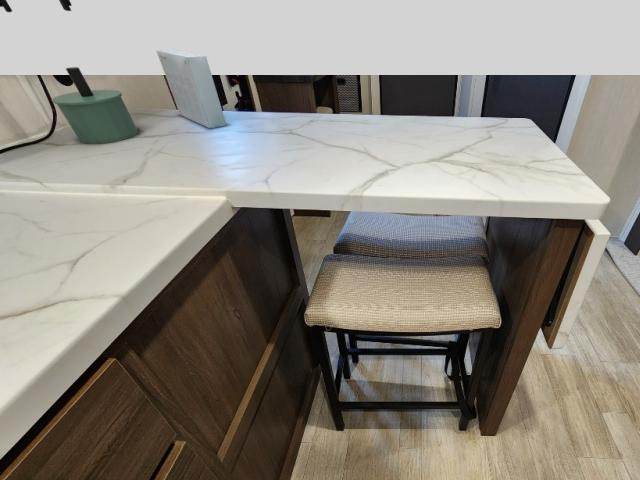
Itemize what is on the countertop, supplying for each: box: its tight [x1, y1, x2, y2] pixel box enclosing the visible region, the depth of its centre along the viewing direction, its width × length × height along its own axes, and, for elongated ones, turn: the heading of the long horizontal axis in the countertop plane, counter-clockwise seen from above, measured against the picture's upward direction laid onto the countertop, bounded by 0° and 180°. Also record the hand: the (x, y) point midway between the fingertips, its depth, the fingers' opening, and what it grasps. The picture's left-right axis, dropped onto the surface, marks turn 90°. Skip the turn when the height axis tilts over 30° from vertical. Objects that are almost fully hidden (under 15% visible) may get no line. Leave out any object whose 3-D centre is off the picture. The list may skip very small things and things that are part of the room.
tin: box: [56, 96, 139, 145], centre depth 82 cm, size 13×13×8 cm
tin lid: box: [51, 66, 123, 105], centre depth 77 cm, size 14×14×7 cm
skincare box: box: [156, 49, 227, 129], centre depth 91 cm, size 21×5×16 cm, turn 47°
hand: (39, 11), depth 68 cm, fingers open, 9 cm apart
